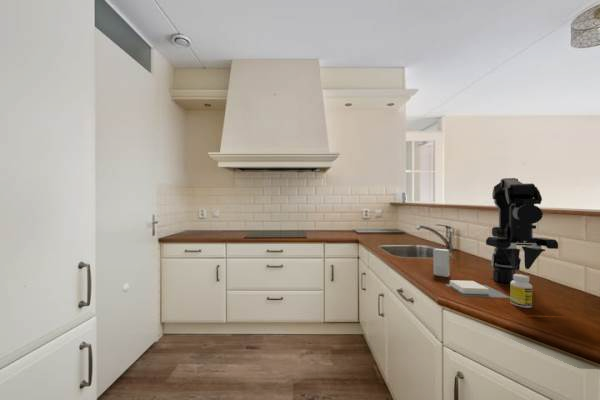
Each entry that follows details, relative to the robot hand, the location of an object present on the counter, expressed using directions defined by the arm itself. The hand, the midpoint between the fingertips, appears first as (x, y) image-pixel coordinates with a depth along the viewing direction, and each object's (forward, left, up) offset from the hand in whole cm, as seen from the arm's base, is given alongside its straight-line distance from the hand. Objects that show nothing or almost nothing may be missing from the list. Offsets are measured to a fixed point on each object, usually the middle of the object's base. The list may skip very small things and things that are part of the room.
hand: (520, 268), depth 82 cm
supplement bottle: (0, 0, -12) cm, 12 cm away
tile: (+5, -12, -10) cm, 17 cm away
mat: (+7, -12, -12) cm, 18 cm away
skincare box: (+10, -32, -12) cm, 36 cm away
